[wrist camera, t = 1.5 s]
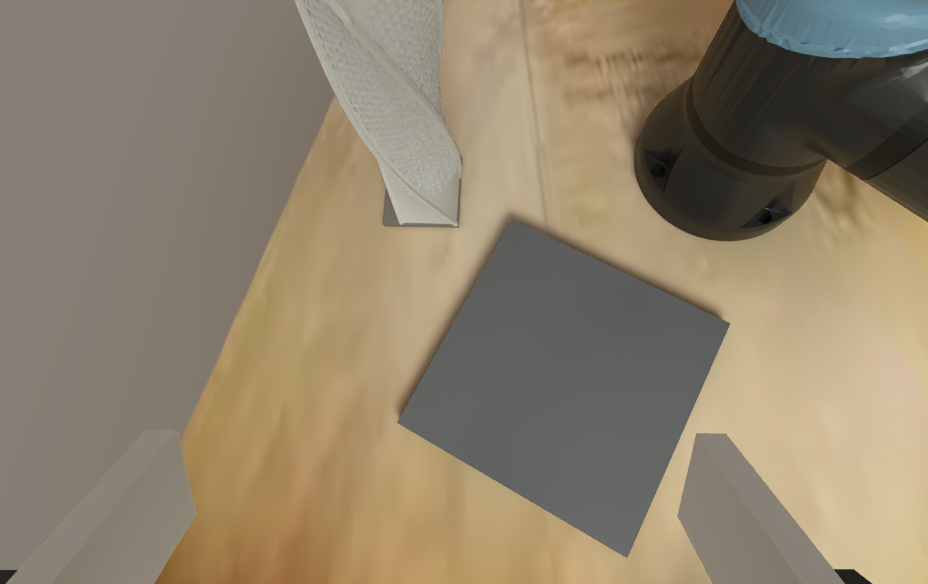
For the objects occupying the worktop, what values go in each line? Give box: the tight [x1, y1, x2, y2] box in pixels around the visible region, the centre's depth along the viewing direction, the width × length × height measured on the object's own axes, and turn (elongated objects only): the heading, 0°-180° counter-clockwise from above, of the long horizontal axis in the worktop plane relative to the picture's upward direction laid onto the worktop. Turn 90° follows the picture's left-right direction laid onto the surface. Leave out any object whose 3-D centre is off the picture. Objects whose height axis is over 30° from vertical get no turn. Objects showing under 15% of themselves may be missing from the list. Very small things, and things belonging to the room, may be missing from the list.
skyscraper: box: [294, 0, 462, 227], centre depth 34 cm, size 8×8×28 cm
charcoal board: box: [397, 219, 730, 558], centre depth 42 cm, size 20×20×2 cm
